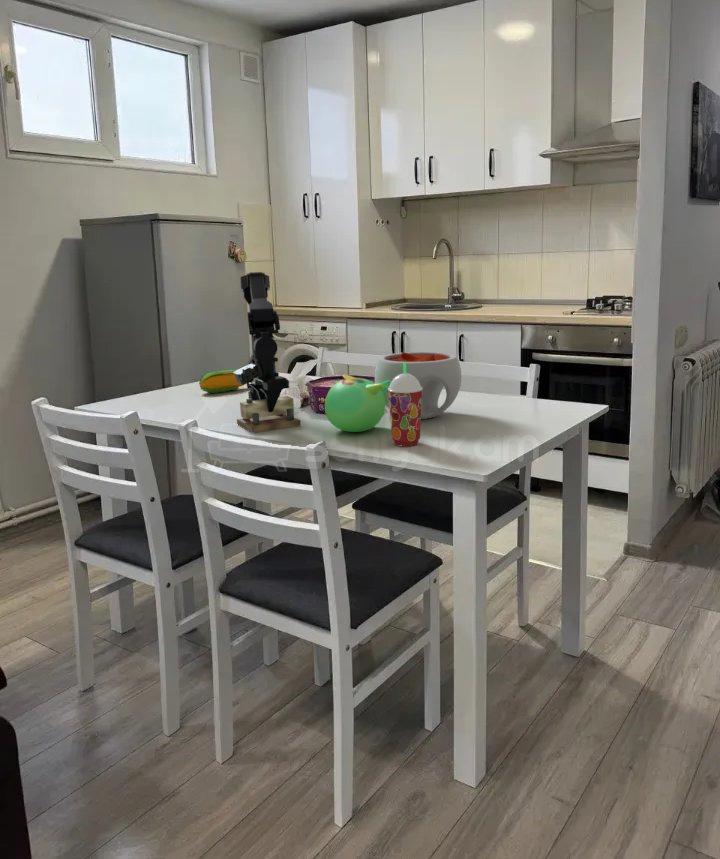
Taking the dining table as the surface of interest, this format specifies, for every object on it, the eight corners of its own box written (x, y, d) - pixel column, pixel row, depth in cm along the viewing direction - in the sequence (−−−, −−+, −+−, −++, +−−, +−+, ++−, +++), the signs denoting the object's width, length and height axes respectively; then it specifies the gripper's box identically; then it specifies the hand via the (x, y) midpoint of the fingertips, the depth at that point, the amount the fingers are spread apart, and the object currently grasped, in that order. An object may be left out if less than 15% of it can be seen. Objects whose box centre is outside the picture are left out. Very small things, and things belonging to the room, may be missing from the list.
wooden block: (288, 410, 215) (287, 392, 213) (294, 412, 211) (293, 394, 210) (241, 416, 208) (239, 398, 207) (246, 419, 205) (244, 401, 204)
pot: (400, 405, 231) (399, 346, 227) (474, 411, 219) (474, 349, 215) (360, 421, 211) (357, 357, 207) (439, 429, 199) (438, 361, 195)
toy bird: (333, 422, 211) (331, 370, 207) (394, 423, 208) (392, 369, 204) (319, 438, 193) (316, 381, 190) (385, 439, 191) (384, 381, 187)
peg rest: (283, 417, 219) (282, 402, 218) (300, 425, 208) (299, 409, 207) (237, 424, 212) (236, 408, 211) (252, 432, 202) (251, 416, 201)
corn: (194, 371, 260) (246, 364, 271) (195, 393, 262) (247, 385, 273) (203, 375, 254) (256, 368, 265) (204, 397, 256) (257, 389, 268)
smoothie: (421, 438, 190) (420, 358, 185) (425, 447, 182) (424, 364, 177) (387, 440, 190) (385, 360, 185) (390, 448, 181) (388, 365, 177)
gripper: (224, 353, 210) (228, 408, 214) (248, 360, 194) (252, 420, 198) (262, 349, 215) (265, 403, 219) (288, 356, 199) (291, 415, 203)
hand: (267, 410), depth 210 cm, fingers closed on wooden block, 4 cm apart
